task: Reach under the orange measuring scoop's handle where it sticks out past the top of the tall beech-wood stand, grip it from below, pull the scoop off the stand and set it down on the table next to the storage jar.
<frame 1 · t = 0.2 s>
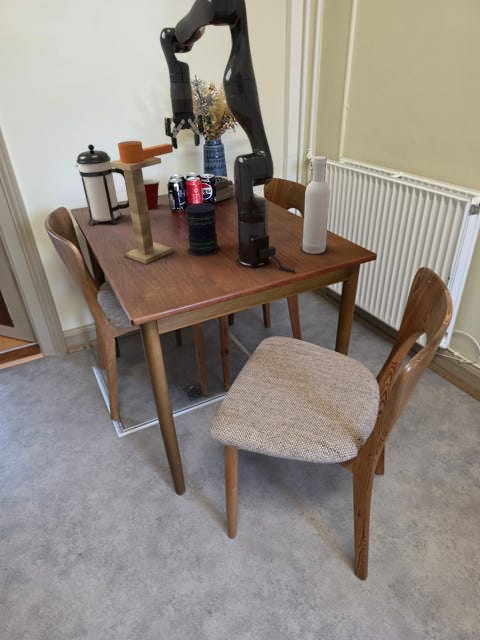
hand: (186, 147, 154), 29 cm above the table, tool pointing down, fingers open, 8 cm apart
bottle: (313, 250, 144), on the table
plastic cup: (151, 208, 190), on the table
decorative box: (216, 202, 195), on the table
plant stand: (149, 254, 145), on the table
storage jar: (203, 250, 147), on the table
measuring scoop: (132, 160, 128), point 31 cm above the table, touching plant stand
coffee press: (109, 220, 177), on the table
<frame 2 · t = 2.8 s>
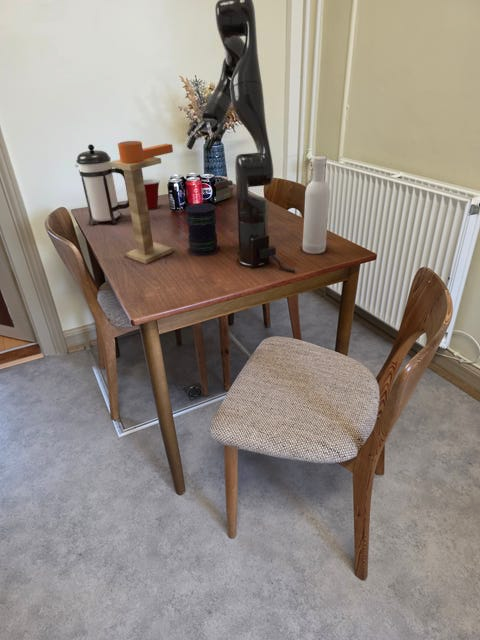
hand: (197, 149, 147), 30 cm above the table, tool tilted 45°, fingers open, 8 cm apart
nothing on the table moved.
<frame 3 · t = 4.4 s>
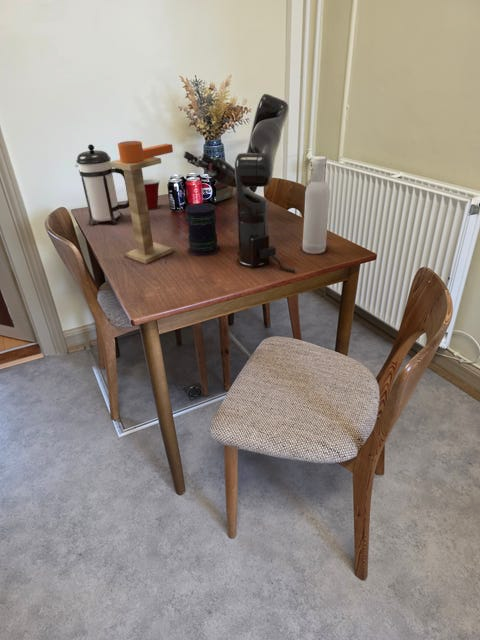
hand: (193, 155, 146), 28 cm above the table, tool pointing upward, fingers open, 8 cm apart
nothing on the table moved.
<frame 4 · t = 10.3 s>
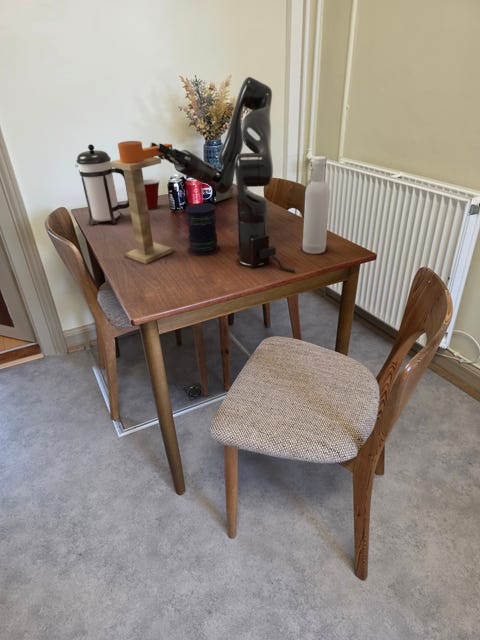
hand: (155, 146, 132), 34 cm above the table, tool pointing upward, fingers closed on measuring scoop, 3 cm apart
measuring scoop: (132, 160, 128), point 31 cm above the table, touching gripper, plant stand
everything else where it was.
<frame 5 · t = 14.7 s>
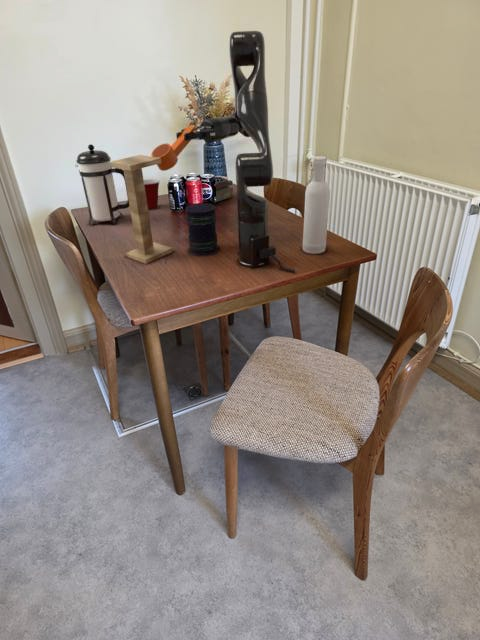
hand: (181, 136, 139), 35 cm above the table, tool horizontal, fingers closed on measuring scoop, 3 cm apart
measuring scoop: (168, 163, 139), point 28 cm above the table, tilted 30°, touching gripper
everything else where it was.
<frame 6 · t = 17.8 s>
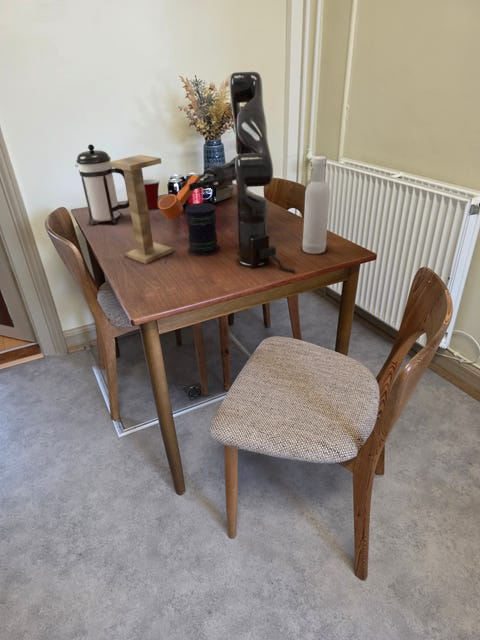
hand: (186, 186, 148), 18 cm above the table, tool horizontal, fingers closed on measuring scoop, 3 cm apart
measuring scoop: (174, 211, 147), point 11 cm above the table, tilted 31°, touching gripper
everything else where it was.
when the fingers open (9 cm above the table, at t = 20.4 s): measuring scoop drops 2 cm, on the table.
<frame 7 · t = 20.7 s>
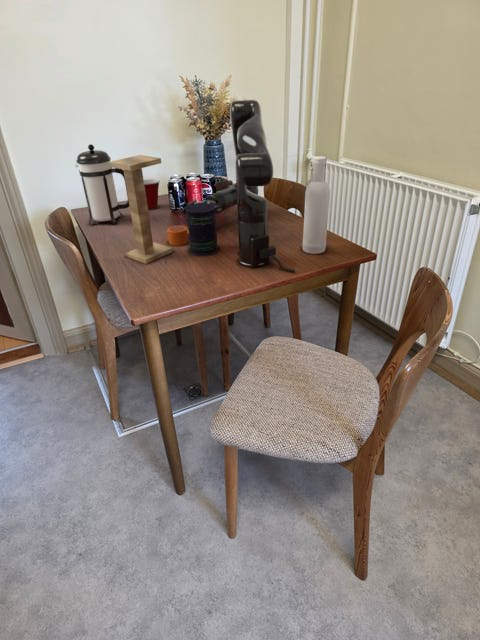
hand: (189, 213, 153), 9 cm above the table, tool horizontal, fingers open, 6 cm apart
measuring scoop: (178, 241, 154), on the table
everything else where it was.
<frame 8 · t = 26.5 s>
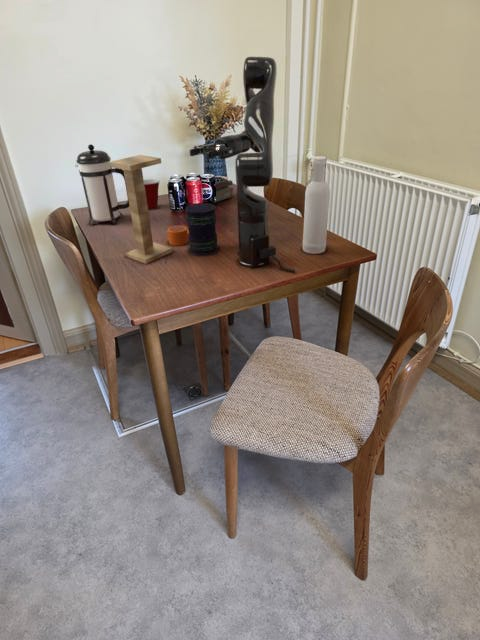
hand: (199, 154, 148), 28 cm above the table, tool horizontal, fingers open, 8 cm apart
nothing on the table moved.
at the end: measuring scoop on the table; measuring scoop 12.8 cm from the storage jar (horizontally); measuring scoop tilted 0° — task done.
